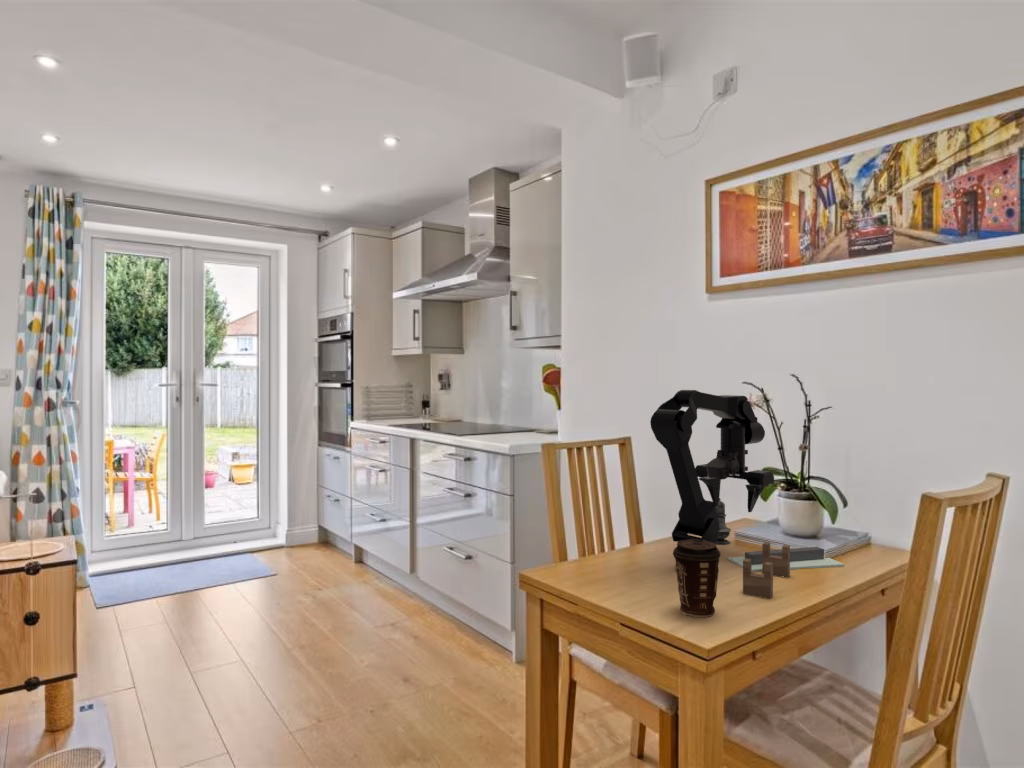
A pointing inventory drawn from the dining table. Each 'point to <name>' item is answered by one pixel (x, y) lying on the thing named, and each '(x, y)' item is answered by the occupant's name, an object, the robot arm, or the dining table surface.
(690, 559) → the coffee cup
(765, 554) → the walnut cradles
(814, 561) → the sage mat
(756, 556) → the black rail
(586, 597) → the dining table surface
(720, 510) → the dark grey chess piece
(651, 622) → the dining table surface
